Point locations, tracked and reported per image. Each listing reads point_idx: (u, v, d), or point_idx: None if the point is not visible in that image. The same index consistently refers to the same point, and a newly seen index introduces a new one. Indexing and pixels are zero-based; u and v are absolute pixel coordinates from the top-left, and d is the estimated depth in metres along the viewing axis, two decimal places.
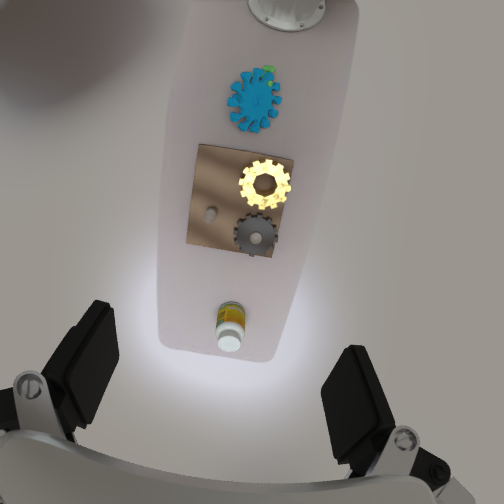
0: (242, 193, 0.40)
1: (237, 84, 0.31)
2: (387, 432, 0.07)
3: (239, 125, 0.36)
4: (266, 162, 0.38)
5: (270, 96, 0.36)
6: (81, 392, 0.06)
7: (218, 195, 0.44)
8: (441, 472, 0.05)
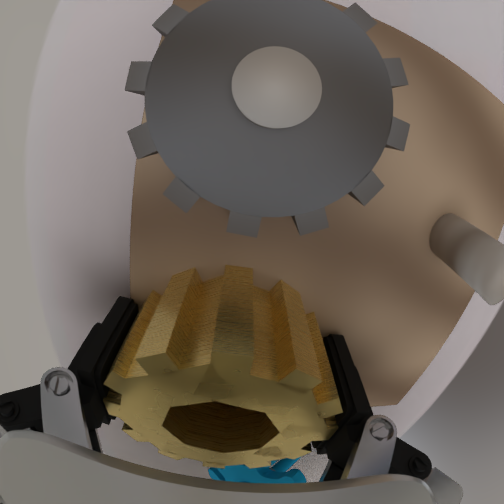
0: (334, 408, 0.07)
1: None
2: (364, 421, 0.07)
3: None
4: (221, 464, 0.08)
5: (225, 475, 0.15)
6: None
7: (407, 295, 0.10)
8: (420, 465, 0.05)
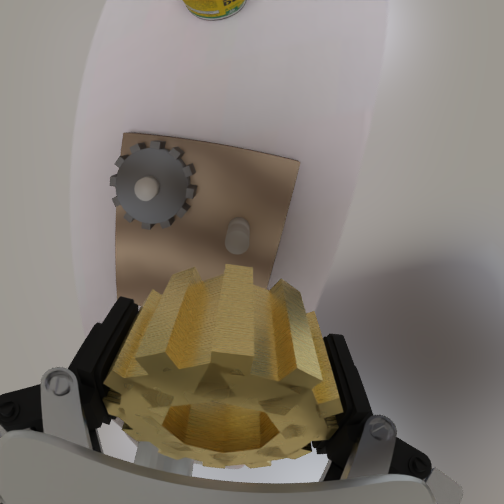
0: (335, 408, 0.07)
1: None
2: (363, 421, 0.07)
3: None
4: (221, 464, 0.08)
5: None
6: (109, 387, 0.07)
7: (225, 255, 0.25)
8: (420, 465, 0.05)
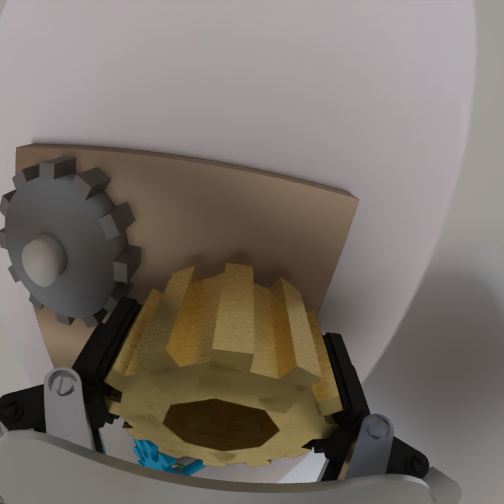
0: (334, 406, 0.07)
1: None
2: (361, 420, 0.07)
3: None
4: (221, 463, 0.09)
5: None
6: (112, 387, 0.07)
7: None
8: (418, 464, 0.05)
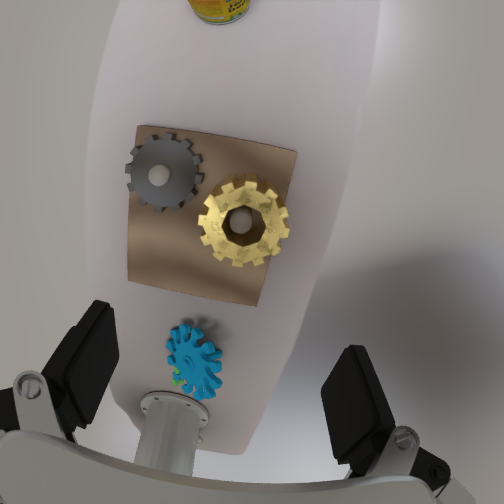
0: (285, 213, 0.22)
1: (207, 397, 0.29)
2: (387, 432, 0.07)
3: (212, 352, 0.29)
4: (241, 262, 0.24)
5: (176, 356, 0.33)
6: (81, 392, 0.06)
7: None
8: (441, 472, 0.05)
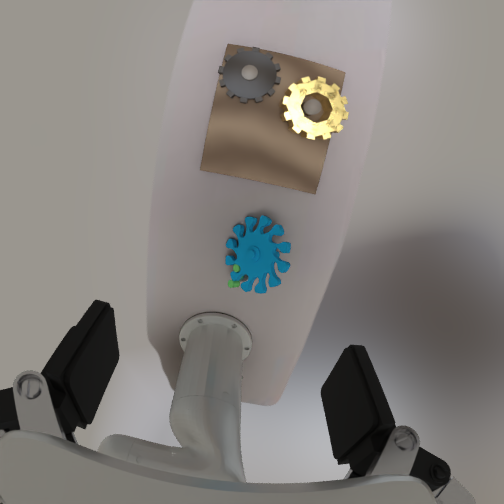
0: (345, 100, 0.26)
1: (272, 285, 0.33)
2: (387, 432, 0.07)
3: (282, 233, 0.33)
4: (314, 135, 0.28)
5: (238, 252, 0.37)
6: (81, 392, 0.06)
7: None
8: (441, 472, 0.05)
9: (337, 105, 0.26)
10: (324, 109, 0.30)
